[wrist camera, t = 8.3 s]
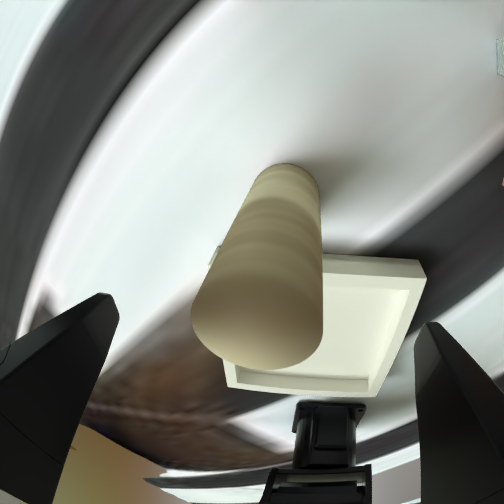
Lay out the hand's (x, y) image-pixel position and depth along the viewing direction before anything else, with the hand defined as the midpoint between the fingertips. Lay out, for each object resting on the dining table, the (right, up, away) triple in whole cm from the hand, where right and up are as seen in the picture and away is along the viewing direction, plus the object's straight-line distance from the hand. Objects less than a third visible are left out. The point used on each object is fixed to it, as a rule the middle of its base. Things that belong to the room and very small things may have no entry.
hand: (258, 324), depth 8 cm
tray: (+4, -3, +12) cm, 13 cm away
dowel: (+1, +5, +7) cm, 9 cm away
